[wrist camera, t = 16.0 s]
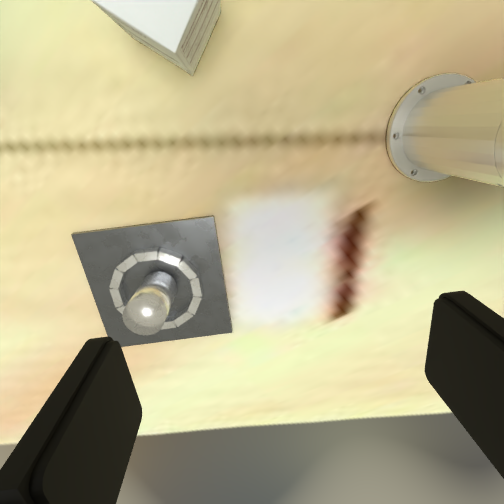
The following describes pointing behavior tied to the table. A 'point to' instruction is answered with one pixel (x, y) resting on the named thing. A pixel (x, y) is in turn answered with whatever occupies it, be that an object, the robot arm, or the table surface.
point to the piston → (150, 304)
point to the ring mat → (158, 260)
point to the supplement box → (167, 26)
